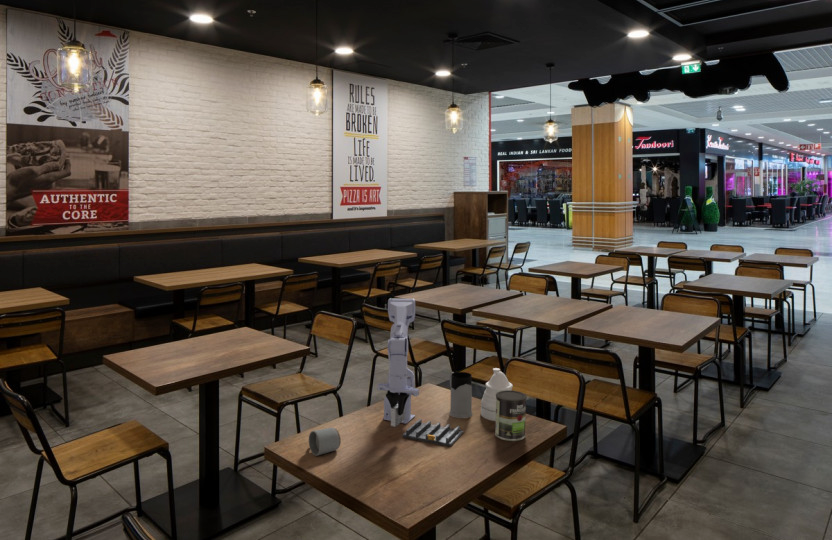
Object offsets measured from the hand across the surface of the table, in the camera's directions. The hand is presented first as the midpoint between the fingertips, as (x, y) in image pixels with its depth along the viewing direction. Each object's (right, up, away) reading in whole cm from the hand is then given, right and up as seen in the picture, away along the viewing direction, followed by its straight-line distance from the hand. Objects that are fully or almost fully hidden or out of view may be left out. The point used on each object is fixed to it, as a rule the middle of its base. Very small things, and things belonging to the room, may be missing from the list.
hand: (397, 413), depth 190 cm
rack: (+12, -9, +6) cm, 16 cm away
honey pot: (+37, -7, +24) cm, 45 cm away
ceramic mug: (-24, -11, -6) cm, 27 cm away
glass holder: (+22, -6, +28) cm, 36 cm away
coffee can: (+38, -9, +6) cm, 40 cm away
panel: (0, -3, 0) cm, 3 cm away
